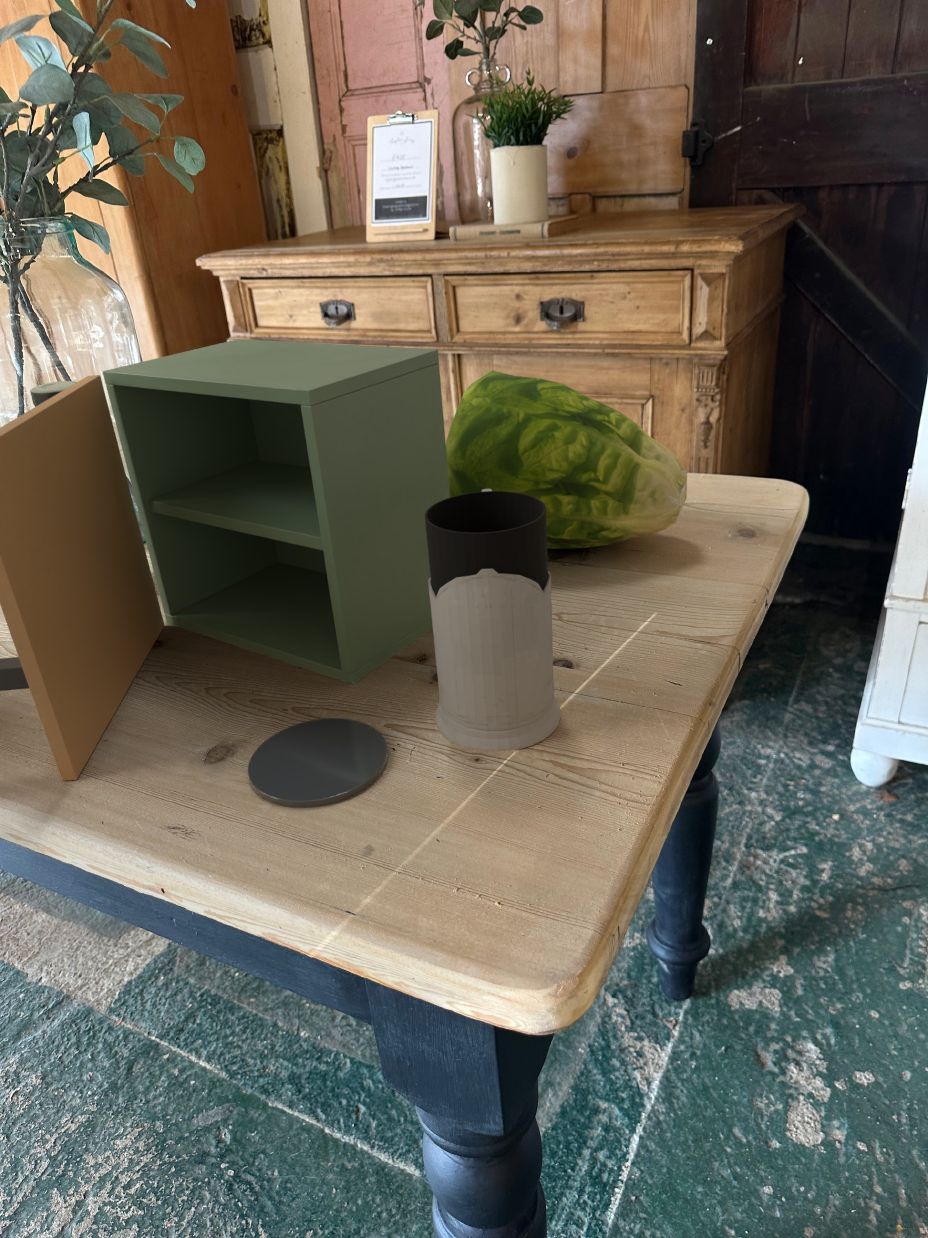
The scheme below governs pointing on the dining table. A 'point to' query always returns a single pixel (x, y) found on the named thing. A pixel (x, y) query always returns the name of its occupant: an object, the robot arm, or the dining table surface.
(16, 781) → the dining table surface
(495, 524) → the glass holder
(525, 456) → the lettuce
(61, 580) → the cupboard door
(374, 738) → the coaster
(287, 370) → the cupboard
